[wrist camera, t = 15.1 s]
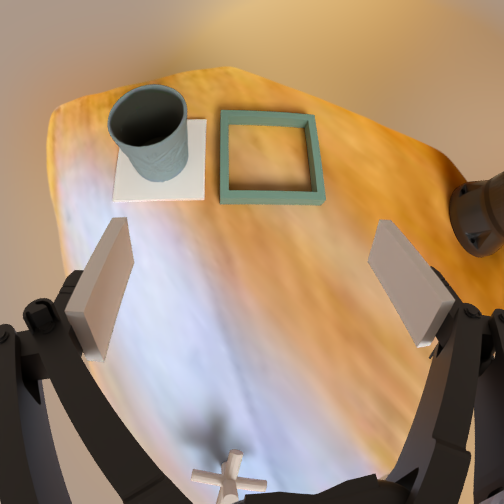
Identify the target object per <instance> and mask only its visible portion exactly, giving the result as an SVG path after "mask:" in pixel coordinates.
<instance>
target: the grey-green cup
mask: <svg viewBox="0 0 504 504" xmlns="http://www.w3.org/2000/svg"><path fill="white" fill-rule="evenodd" d="M108 131H109V133H110V136H111V137H112V139H113V140H114V141H115V143H116V144H117V145H118V146H119V148H120V149H121V150H122V152H123V153H124V154H126V156H127V157H128V158H129V160H130V162H131V163H132V165H133V167H134V168H135V169H136V171H137V172H138V173H139V174H140V175H141V176H142V177H143V178H145V179H146V180H149V181H151V182H165V181H168V180H171V179H172V178H174V177H176V176H177V175H178V174H179V173H181V171H182V170H183V169H184V168H185V166H186V164H187V161H188V131H187V105H186V102H185V100H184V98H183V97H182V95H181V94H180V93H179V92H177V91H176V90H175V89H173V88H170V87H167V86H164V85H157V84H153V85H145V86H141V87H138V88H135V89H133V90H131V91H129V92H127V93H126V94H125V95H123V96H122V97H121V98H120V99H119V100H118V101H117V102H116V103H115V105H114V106H113V108H112V109H111V111H110V114H109V117H108Z"/></svg>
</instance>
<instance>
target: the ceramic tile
mask: <svg viewBox="0 0 504 504" xmlns="http://www.w3.org/2000/svg"><path fill="white" fill-rule="evenodd" d="M206 122H207V121H206V119H194V120H187V131H188V161H187V164H186V166H185V168H184V169H183V170H182V171H181V173H179V174H178V175H177V176H176V177H174V178H172V179H171V180H168V181H165V182H151V181H149V180H146V179H145V178H143V177H142V176H141V175H140V174H139V173H138V172H137V171H136V169H135V168H134V167H133V165H132V163H131V162H130V160H129V158H128V157H127V156H126V154H124V153H123V152H122V150H121V149H120V148H119V154H118V161H117V168H116V175H115V183H114V192H113V202H114V203H116V202H140V201H173V200H204V194H205V150H206Z"/></svg>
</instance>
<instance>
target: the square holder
mask: <svg viewBox="0 0 504 504" xmlns="http://www.w3.org/2000/svg"><path fill="white" fill-rule="evenodd" d="M228 124H232V125H265V126H284V127H299V128H305V136H306V143H307V151H308V160H309V168H310V177H311V186H312V192H302V191H259V190H229V151H228ZM325 200H326V196H325V188H324V179H323V171H322V164H321V156H320V149H319V142H318V135H317V129H316V122H315V116H314V115H309V114H298V113H285V112H269V111H246V110H221V118H220V204H275V205H322V204H323V203H324V201H325Z"/></svg>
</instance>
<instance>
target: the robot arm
mask: <svg viewBox="0 0 504 504" xmlns="http://www.w3.org/2000/svg"><path fill="white" fill-rule="evenodd" d="M450 218H451V223H452V227H453V230H454V232H455V235H456V237H457V239H458V240H459V242H460V244H461V245H462V246H463V247H464V249H465V250H466V251H467V252H469V253H470V254H471V255H473V256H476V257H485V256H489V255H491V254H493V253H495V252H496V251H497V250H498V249H500V248H501V247H502V246H503V245H504V172H502V173H500V174H498V175H496V176H495V177H493V178H491V179H490V180H485V181H473V182H467V183H464V184H463V185H461V186H459V187H458V188H456V189H455V191H454V192H453V194H452V196H451V200H450ZM368 263H369V265H370V266H371V268H372V269H373V271H374V273H375V274H376V276H377V278H378V279H379V281H380V283H381V284H382V286H383V288H384V289H385V291H386V293H387V295H388V296H389V298H390V300H391V301H392V303H393V305H394V307H395V308H396V310H397V312H398V314H399V315H400V317H401V319H402V321H403V323H404V324H405V326H406V328H407V330H408V332H409V334H410V335H411V337H412V339H413V341H414V343H415V345H416V347H417V348H419V347H424V346H429V345H430V344H431V343H432V341H433V339H434V338H435V336H436V338H437V339H438V341H439V342H438V344H437V345H436V347H435V349H434V350H433V352H432V353H431V355H430V356H429V359H431V357H432V356H433V359H432V363H431V367H430V370H429V374H428V377H427V381H426V384H425V388H424V391H423V394H422V397H421V400H420V403H419V406H418V409H417V412H416V415H415V418H414V421H413V424H412V426H411V429H410V432H409V434H408V437H407V439H406V442H405V444H404V447H403V449H402V452H401V454H400V457H399V459H398V461H397V463H396V465H395V467H394V469H393V470H392V472H391V473H390V474H389V475H388V477H387V478H386V480H378V479H377V477H376V474H372V475H368V476H364V477H360V478H356V479H352V480H347V481H345V482H343V483H341V484H339V485H336V486H334V487H332V488H330V489H328V490H325V491H323V492H321V493H319V494H314V495H311V494H298V493H287V492H272V493H261V494H246V495H245V498H244V500H241V501H237V502H235V503H232V504H458V501H459V499H460V495H461V492H462V489H463V486H464V483H465V479H466V476H467V472H468V468H469V465H470V461H471V453H470V452H469V451H466V442H467V439H468V434H469V430H470V425H471V419H472V415H473V409H474V417H475V469H474V492H473V495H474V504H504V310H502V309H495V310H494V312H493V314H492V315H491V316H485V315H482V314H481V312H480V310H479V309H477V308H476V307H475V306H473V305H472V304H469V303H463V302H462V301H461V300H460V298H459V297H458V296H457V294H456V293H455V292H454V290H453V289H452V288H451V286H449V284H448V282H447V281H445V278H444V277H443V276H442V275H441V273H440V272H439V271H437V270H436V269H435V268H433V267H432V266H429V265H428V264H427V262H426V261H425V260H424V259H423V257H422V256H421V255H420V254H419V252H418V251H417V250H416V249H415V248H414V246H413V245H412V244H411V243H410V242H409V240H408V239H407V238H406V237H405V236H404V235H403V233H402V232H401V231H400V230H399V229H398V228H397V226H396V225H395V224H394V223H393V222H392V221H391V220H379V223H378V227H377V230H376V234H375V238H374V241H373V245H372V248H371V252H370V255H369V258H368ZM133 265H134V259H133V253H132V248H131V242H130V236H129V229H128V223H127V217H122V218H112V220H111V221H110V223H109V225H108V227H107V228H106V230H105V232H104V234H103V235H102V237H101V239H100V241H99V243H98V245H97V246H96V248H95V250H94V252H93V254H92V256H91V258H90V259H89V261H88V263H87V265H86V267H85V269H84V270H74V271H73V272H72V273H71V274H70V275H69V276H68V277H67V278H66V280H65V282H64V284H63V287H62V288H61V290H60V291H59V294H58V296H57V297H56V299H55V302H54V303H53V302H52V301H51V300H49V299H47V298H40V299H37V300H34V301H33V302H31V303H30V304H28V306H27V307H26V308H25V310H24V312H23V319H24V321H25V323H26V325H27V326H28V328H29V330H27V331H21V332H16V331H15V329H14V328H13V327H12V326H11V325H8V324H2V325H0V501H1V504H72V502H71V500H70V497H69V494H68V491H67V488H66V485H65V482H64V478H63V476H62V472H61V469H60V465H59V462H58V458H57V455H56V450H55V446H54V442H53V438H52V434H51V429H50V425H49V420H48V415H47V409H46V404H45V398H44V392H43V385H42V379H49V378H50V380H51V382H52V384H53V386H54V388H55V391H56V393H57V395H58V397H59V399H60V401H61V403H62V405H63V406H64V409H65V410H66V412H67V414H68V416H69V418H70V420H71V422H72V423H73V425H74V427H75V429H76V431H77V432H78V434H79V436H80V437H81V439H82V441H83V442H84V444H85V446H86V447H87V449H88V451H89V452H90V454H91V455H92V457H93V458H94V460H95V462H96V463H97V465H98V466H99V468H100V469H101V471H102V472H103V473H104V475H105V476H106V478H107V479H108V481H109V482H110V483H111V485H112V486H113V488H114V489H115V490H116V491H117V493H118V494H119V496H120V497H121V499H122V500H123V503H124V504H193V503H192V502H191V501H190V500H189V499H188V498H187V497H186V496H185V495H184V494H183V493H182V492H181V491H180V490H179V489H178V488H177V487H176V486H175V484H174V483H173V482H172V481H171V480H170V479H169V478H168V477H167V476H166V475H165V474H164V473H163V472H162V471H161V470H160V469H159V468H158V466H157V465H156V464H155V463H154V462H153V461H152V459H151V458H150V457H149V456H148V454H147V453H146V452H145V451H144V450H143V448H142V447H141V446H140V444H139V443H138V442H137V441H136V439H135V438H134V437H133V435H132V434H131V433H130V431H129V430H128V429H127V427H126V426H125V425H124V423H123V422H122V421H121V419H120V418H119V416H118V415H117V414H116V412H115V411H114V409H113V408H112V406H111V405H110V403H109V402H108V400H107V399H106V397H105V396H104V394H103V393H102V391H101V390H100V388H99V387H98V385H97V383H96V382H95V380H94V379H93V377H92V375H91V374H90V372H89V370H88V369H87V367H86V365H85V364H84V362H83V360H82V358H81V356H82V353H84V355H85V357H86V359H87V361H98V362H104V361H105V358H106V354H107V350H108V346H109V343H110V339H111V335H112V332H113V328H114V325H115V321H116V318H117V315H118V311H119V308H120V305H121V301H122V298H123V295H124V292H125V289H126V286H127V283H128V280H129V277H130V274H131V271H132V268H133ZM495 352H496V353H495ZM494 353H495V358H494V356H493V354H494Z"/></svg>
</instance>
